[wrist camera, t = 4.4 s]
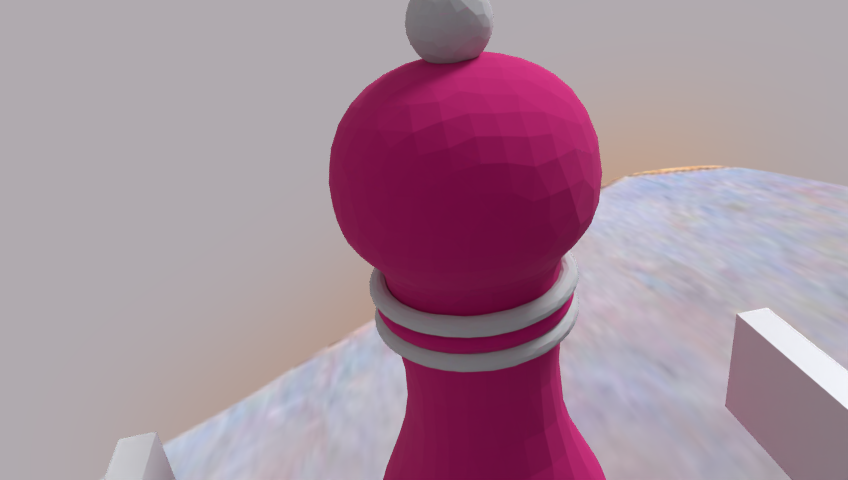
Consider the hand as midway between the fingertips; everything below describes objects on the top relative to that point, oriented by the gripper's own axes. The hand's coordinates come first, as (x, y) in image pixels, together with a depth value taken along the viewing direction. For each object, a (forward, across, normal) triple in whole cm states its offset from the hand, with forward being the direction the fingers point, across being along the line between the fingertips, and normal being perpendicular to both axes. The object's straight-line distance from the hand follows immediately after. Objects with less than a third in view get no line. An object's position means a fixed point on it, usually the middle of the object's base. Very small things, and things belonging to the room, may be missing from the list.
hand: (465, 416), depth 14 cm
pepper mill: (+2, +1, -11) cm, 11 cm away
